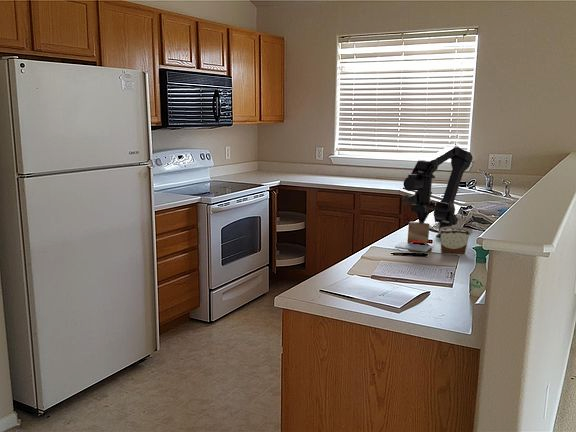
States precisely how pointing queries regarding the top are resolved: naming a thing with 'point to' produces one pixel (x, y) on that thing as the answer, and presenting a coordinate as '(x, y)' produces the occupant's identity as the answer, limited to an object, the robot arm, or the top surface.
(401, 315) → the top surface
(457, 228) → the food container
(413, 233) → the wooden block
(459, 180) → the robot arm
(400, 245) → the board
